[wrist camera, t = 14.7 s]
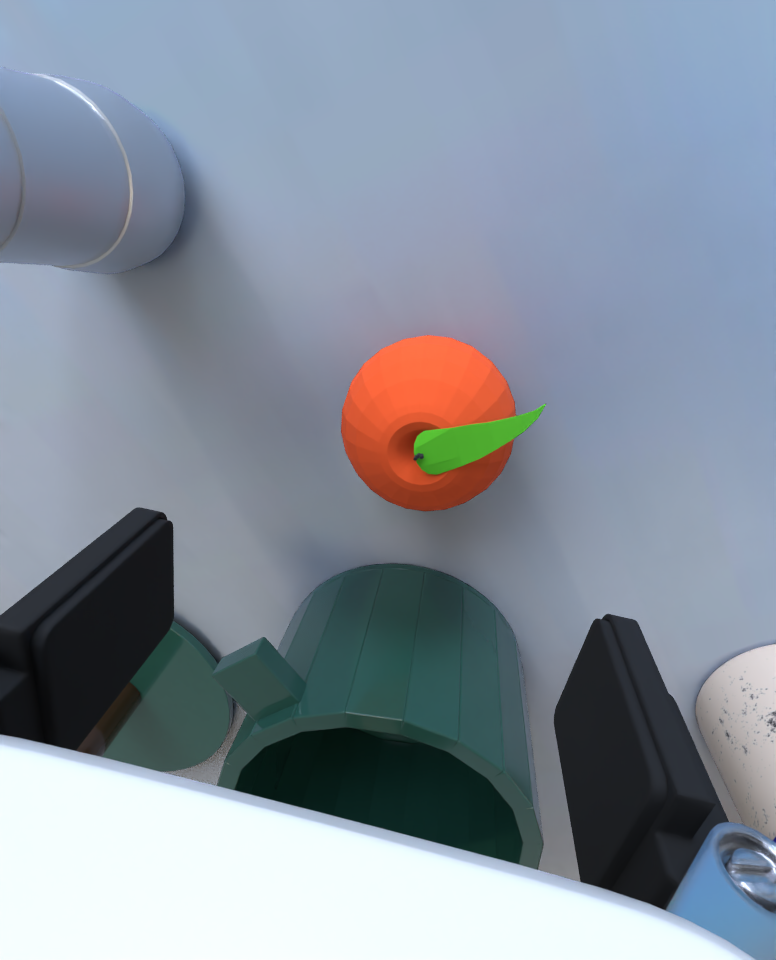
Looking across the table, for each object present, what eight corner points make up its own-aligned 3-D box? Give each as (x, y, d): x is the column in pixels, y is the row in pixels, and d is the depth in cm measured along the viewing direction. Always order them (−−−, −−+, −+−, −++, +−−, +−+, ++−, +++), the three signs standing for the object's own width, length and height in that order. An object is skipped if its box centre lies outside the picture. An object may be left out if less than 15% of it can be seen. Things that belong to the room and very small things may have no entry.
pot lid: (125, 549, 30) (39, 626, 24) (281, 716, 34) (241, 818, 28) (-14, 642, 36) (-114, 724, 29) (136, 779, 39) (75, 876, 33)
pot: (407, 480, 26) (372, 606, 17) (586, 731, 31) (632, 932, 22) (214, 590, 31) (108, 735, 22) (397, 793, 36) (372, 979, 27)
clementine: (516, 294, 22) (534, 316, 15) (548, 446, 24) (575, 520, 18) (339, 348, 24) (290, 387, 17) (385, 483, 26) (356, 562, 20)
